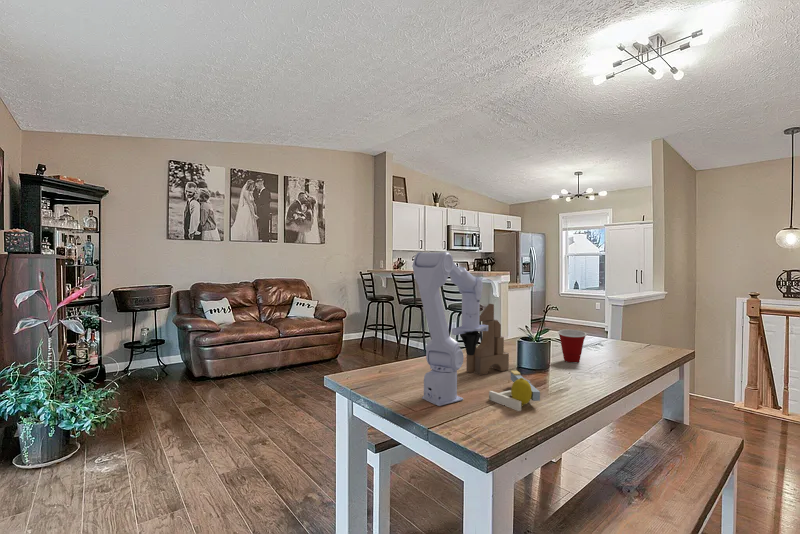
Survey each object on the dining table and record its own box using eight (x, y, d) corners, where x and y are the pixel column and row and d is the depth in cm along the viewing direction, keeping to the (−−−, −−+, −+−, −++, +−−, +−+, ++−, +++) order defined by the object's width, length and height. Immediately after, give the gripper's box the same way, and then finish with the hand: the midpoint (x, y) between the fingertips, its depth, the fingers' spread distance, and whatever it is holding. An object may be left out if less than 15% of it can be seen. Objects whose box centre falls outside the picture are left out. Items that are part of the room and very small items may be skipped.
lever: (529, 400, 114) (530, 390, 114) (508, 379, 134) (508, 370, 134) (542, 400, 114) (542, 389, 114) (519, 379, 134) (519, 370, 134)
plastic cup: (558, 363, 162) (558, 333, 162) (556, 357, 173) (556, 328, 172) (588, 365, 159) (588, 334, 159) (584, 359, 169) (584, 330, 169)
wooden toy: (496, 366, 158) (496, 301, 158) (508, 370, 153) (509, 303, 152) (464, 371, 151) (465, 303, 150) (476, 376, 145) (477, 305, 144)
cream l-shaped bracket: (518, 411, 111) (518, 402, 111) (488, 399, 121) (489, 391, 120) (539, 404, 116) (540, 396, 116) (509, 394, 126) (509, 385, 125)
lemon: (518, 410, 112) (519, 381, 111) (507, 403, 117) (507, 375, 117) (535, 408, 113) (536, 380, 113) (523, 401, 119) (524, 374, 118)
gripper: (462, 316, 127) (462, 360, 127) (495, 313, 135) (495, 354, 135) (447, 314, 133) (447, 355, 133) (479, 310, 141) (479, 350, 141)
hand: (470, 354), depth 134 cm, fingers closed
